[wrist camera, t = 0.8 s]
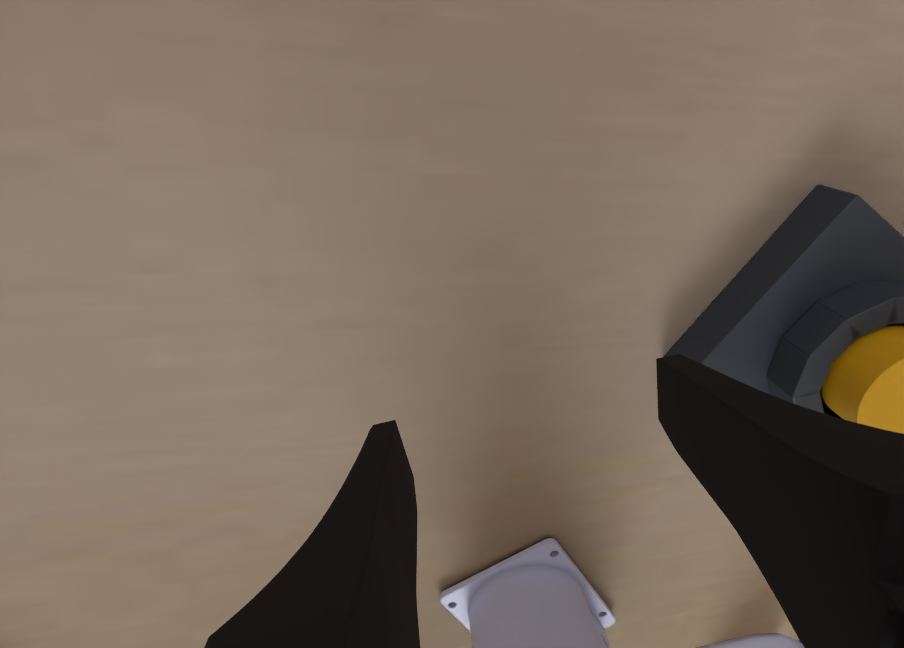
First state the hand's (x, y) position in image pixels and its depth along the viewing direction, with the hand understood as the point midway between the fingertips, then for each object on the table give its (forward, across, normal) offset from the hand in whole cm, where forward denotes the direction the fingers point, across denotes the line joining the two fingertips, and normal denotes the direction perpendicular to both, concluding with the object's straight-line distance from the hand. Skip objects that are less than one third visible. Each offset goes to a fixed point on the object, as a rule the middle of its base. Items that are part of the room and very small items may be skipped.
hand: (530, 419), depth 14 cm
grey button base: (+10, -16, +7) cm, 20 cm away
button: (+6, -16, +7) cm, 18 cm away
